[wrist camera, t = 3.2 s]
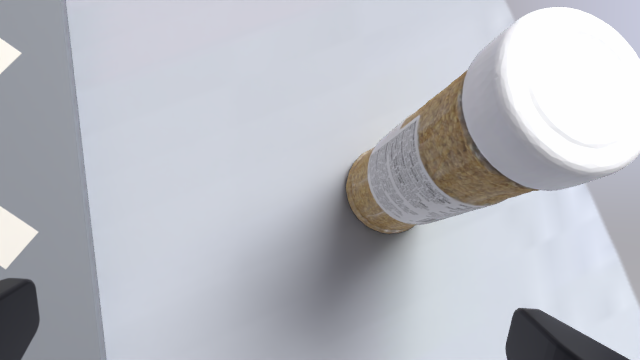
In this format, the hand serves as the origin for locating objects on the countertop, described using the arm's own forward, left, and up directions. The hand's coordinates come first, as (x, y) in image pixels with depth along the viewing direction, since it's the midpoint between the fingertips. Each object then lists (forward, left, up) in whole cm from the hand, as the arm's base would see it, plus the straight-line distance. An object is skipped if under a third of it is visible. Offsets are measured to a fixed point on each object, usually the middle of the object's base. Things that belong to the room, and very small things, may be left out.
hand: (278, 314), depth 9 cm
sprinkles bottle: (+7, -6, -13) cm, 16 cm away
